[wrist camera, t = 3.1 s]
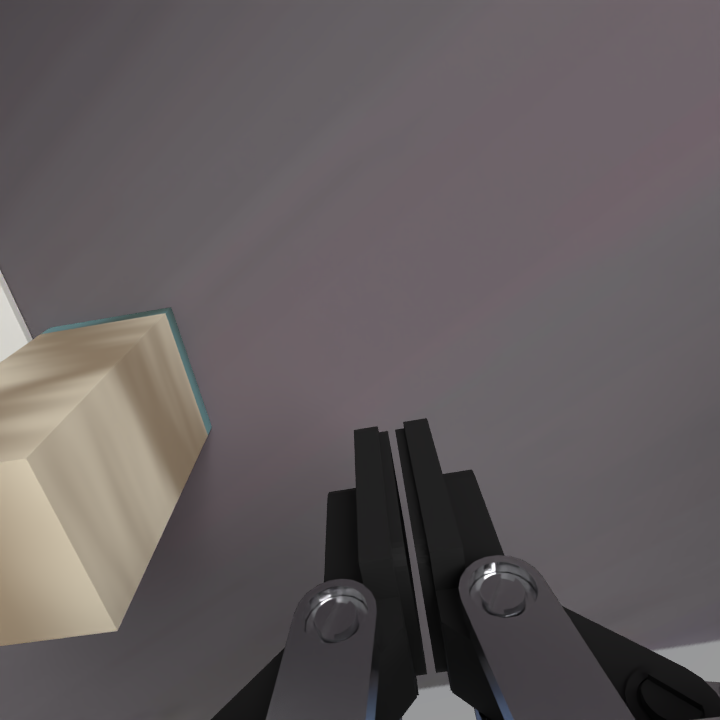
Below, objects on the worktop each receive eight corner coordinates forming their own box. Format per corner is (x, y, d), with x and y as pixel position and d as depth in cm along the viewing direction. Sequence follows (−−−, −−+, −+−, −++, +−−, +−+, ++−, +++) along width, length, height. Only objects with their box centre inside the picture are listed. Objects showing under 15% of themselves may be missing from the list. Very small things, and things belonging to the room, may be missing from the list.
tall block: (170, 307, 19) (26, 458, 10) (211, 426, 21) (117, 631, 13) (49, 327, 19) (-184, 490, 11) (101, 443, 21) (-61, 653, 13)
